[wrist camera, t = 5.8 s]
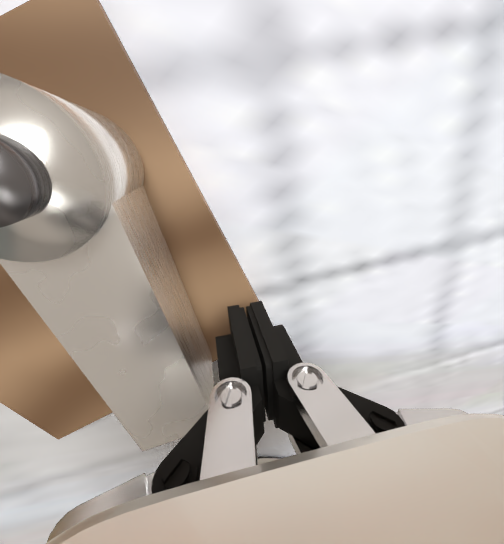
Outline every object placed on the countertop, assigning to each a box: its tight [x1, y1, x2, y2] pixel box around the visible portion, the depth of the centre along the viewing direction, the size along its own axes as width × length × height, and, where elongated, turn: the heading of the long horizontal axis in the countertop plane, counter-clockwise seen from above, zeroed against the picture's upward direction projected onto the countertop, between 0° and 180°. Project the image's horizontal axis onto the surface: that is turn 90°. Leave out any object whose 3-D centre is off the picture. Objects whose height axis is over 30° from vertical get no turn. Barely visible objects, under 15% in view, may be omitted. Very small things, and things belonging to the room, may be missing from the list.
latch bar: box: [0, 73, 214, 451], centre depth 9 cm, size 12×4×5 cm, turn 13°
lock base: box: [0, 0, 259, 439], centre depth 10 cm, size 15×14×6 cm
